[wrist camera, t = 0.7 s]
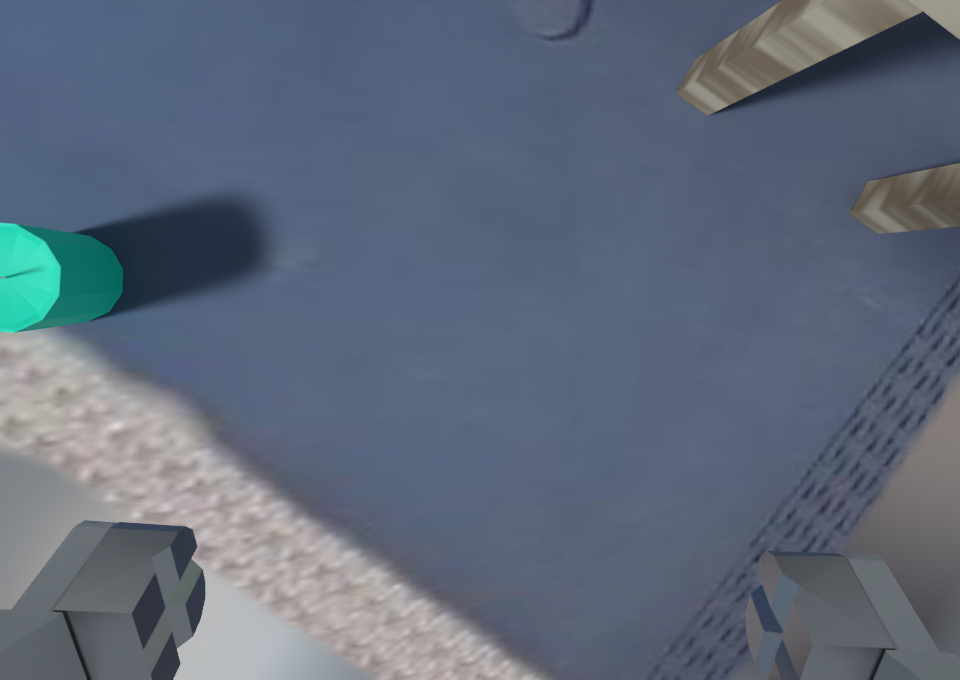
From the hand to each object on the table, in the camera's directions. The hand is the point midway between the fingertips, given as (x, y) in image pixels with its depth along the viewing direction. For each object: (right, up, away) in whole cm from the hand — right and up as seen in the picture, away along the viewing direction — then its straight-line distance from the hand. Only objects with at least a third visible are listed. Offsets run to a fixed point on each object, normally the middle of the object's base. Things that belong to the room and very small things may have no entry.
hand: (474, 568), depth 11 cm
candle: (-27, +7, +39) cm, 48 cm away
